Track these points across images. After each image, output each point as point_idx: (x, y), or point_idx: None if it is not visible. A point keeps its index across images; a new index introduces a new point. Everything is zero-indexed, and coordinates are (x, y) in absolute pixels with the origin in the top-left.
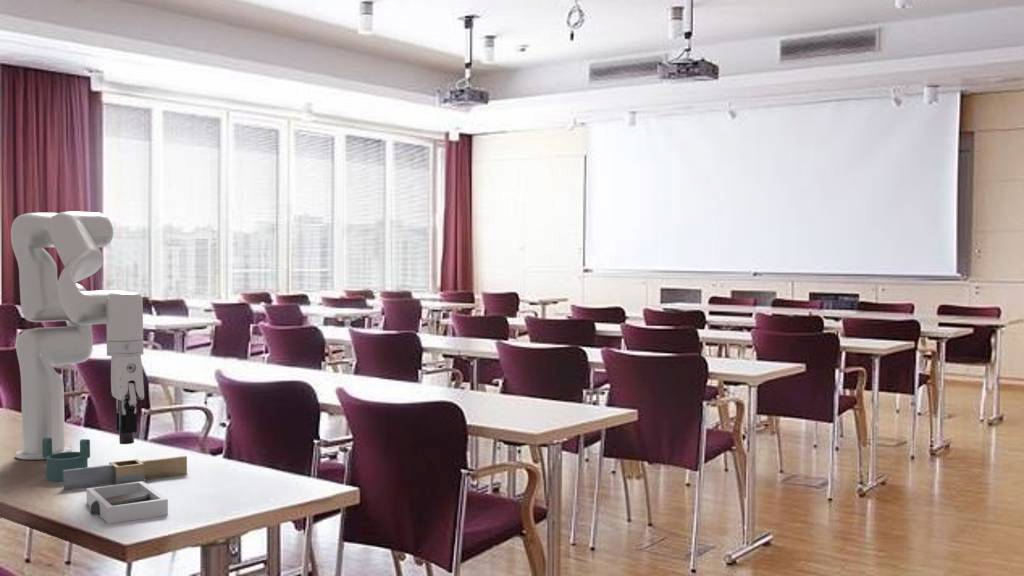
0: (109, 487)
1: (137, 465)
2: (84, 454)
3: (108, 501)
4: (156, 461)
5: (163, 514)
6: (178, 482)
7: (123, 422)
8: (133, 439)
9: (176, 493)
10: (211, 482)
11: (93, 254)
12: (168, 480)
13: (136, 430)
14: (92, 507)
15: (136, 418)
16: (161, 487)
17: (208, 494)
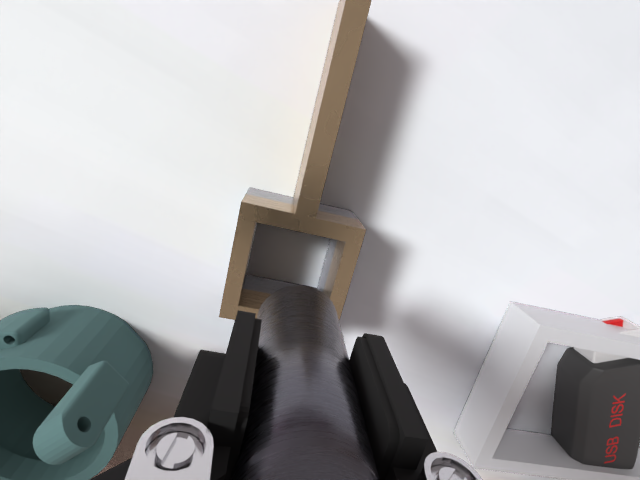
0: (508, 418)
1: (356, 256)
2: (119, 401)
3: (617, 460)
4: (333, 148)
5: None
6: (457, 125)
7: None
8: (330, 307)
9: (578, 217)
10: (565, 31)
11: None
12: (397, 134)
13: (382, 338)
14: None
15: (412, 403)
16: (469, 210)
17: None
